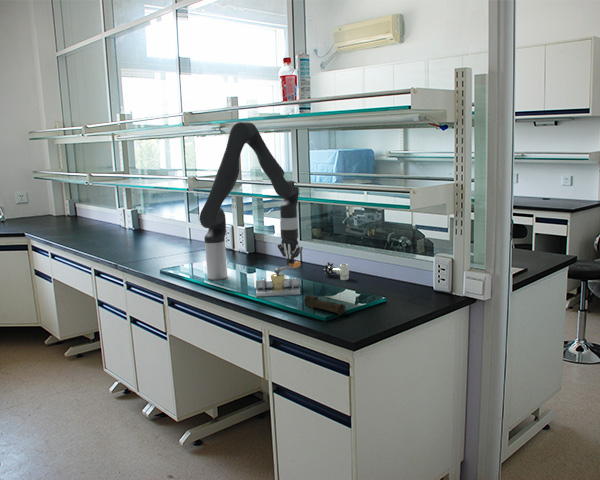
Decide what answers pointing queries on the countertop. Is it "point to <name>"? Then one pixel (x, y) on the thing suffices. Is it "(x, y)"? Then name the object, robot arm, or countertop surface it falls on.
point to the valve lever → (291, 265)
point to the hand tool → (324, 304)
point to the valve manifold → (278, 286)
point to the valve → (337, 270)
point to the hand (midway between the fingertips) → (290, 266)
